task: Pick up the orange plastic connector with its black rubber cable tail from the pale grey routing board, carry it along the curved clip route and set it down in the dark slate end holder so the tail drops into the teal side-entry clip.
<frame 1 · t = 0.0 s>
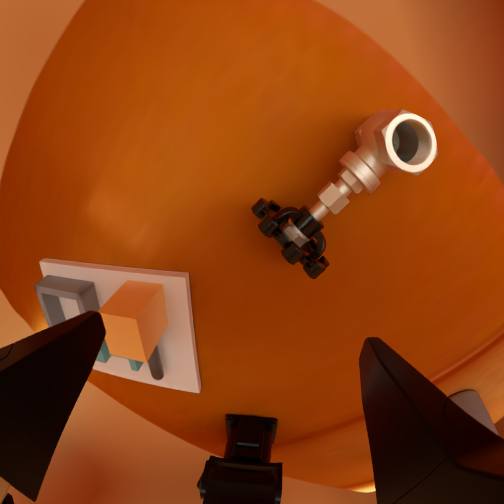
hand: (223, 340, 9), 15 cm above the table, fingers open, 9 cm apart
valve: (341, 173, 21), on the table
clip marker: (122, 350, 28), resting on routing board
routing board: (118, 326, 28), on the table
connector: (147, 302, 25), point 1 cm above the table, touching routing board
water bottle: (451, 408, 30), on the table
end holder: (77, 310, 27), resting on routing board
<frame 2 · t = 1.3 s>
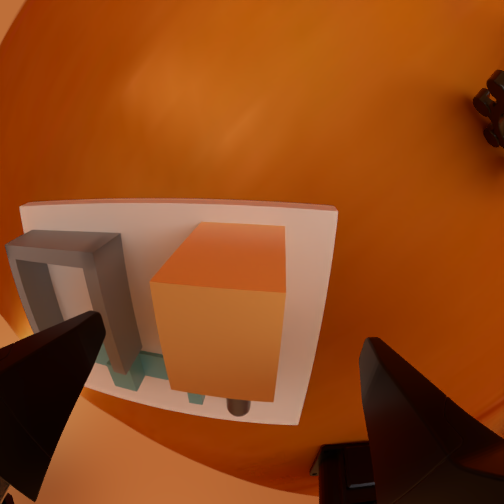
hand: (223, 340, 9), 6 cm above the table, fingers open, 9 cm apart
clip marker: (168, 366, 16), resting on routing board
routing board: (160, 324, 16), on the table
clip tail: (101, 351, 17), resting on routing board
connector: (241, 270, 13), point 1 cm above the table, touching routing board
end holder: (83, 295, 15), resting on routing board
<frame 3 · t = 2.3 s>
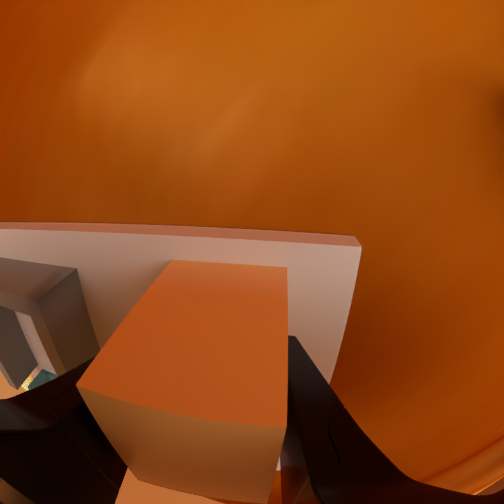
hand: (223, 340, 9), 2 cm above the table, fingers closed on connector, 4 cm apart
routing board: (136, 369, 13), on the table
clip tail: (76, 391, 13), resting on routing board
connector: (228, 321, 10), point 1 cm above the table, touching gripper, routing board
end holder: (48, 332, 11), resting on routing board
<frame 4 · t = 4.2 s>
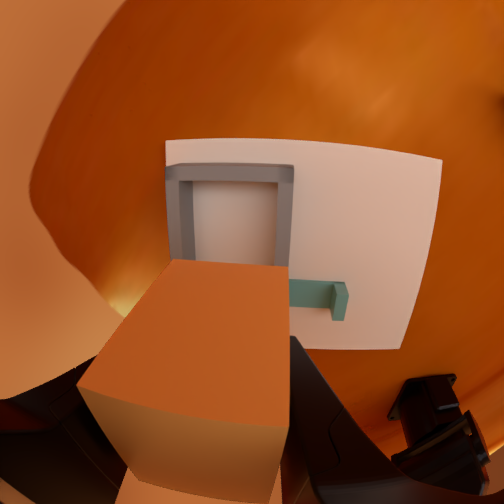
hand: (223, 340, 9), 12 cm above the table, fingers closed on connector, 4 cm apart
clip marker: (307, 292, 20), resting on routing board
routing board: (302, 253, 20), on the table
connector: (229, 321, 10), point 11 cm above the table, touching gripper
end holder: (234, 225, 18), resting on routing board
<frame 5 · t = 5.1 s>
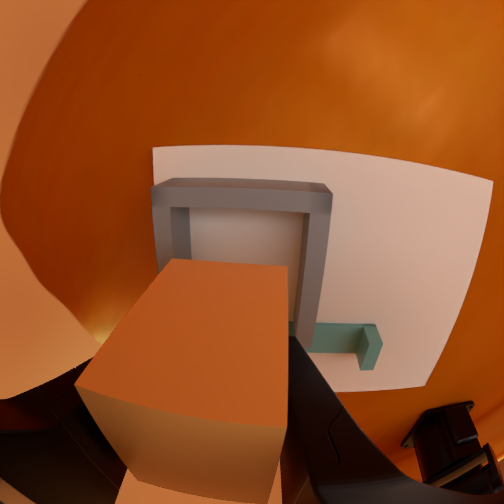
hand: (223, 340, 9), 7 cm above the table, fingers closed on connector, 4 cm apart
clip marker: (330, 336, 16), resting on routing board
routing board: (327, 290, 16), on the table
connector: (228, 321, 10), point 6 cm above the table, touching gripper
end holder: (244, 259, 14), resting on routing board
when the fingers open (4 cm above the table, at t = 6.0 s): connector drops 2 cm, resting on routing board.
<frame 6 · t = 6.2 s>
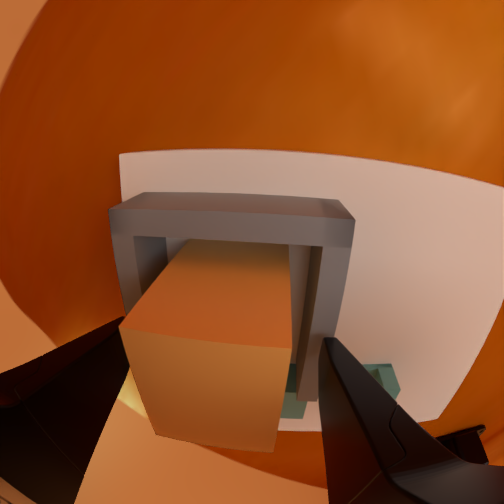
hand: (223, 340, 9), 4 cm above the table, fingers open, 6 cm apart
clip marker: (338, 378, 13), resting on routing board
routing board: (336, 326, 13), on the table
connector: (237, 294, 11), point 1 cm above the table, touching routing board
end holder: (235, 295, 11), resting on routing board
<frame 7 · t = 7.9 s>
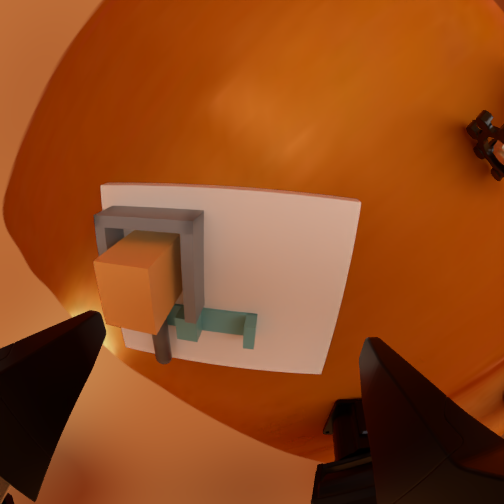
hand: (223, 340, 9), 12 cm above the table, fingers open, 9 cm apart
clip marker: (224, 320, 22), resting on routing board
routing board: (220, 285, 22), on the table
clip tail: (163, 311, 22), resting on routing board
connector: (158, 260, 20), point 1 cm above the table, touching routing board
end holder: (157, 260, 20), resting on routing board
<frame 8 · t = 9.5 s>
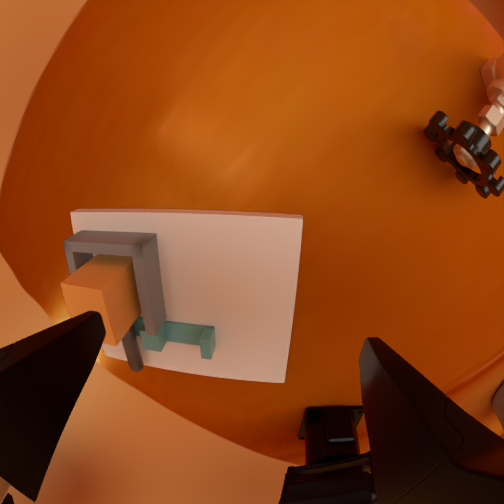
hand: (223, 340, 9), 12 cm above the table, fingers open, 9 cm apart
valve: (474, 107, 15), on the table
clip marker: (185, 332, 23), resting on routing board
routing board: (180, 300, 23), on the table
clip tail: (132, 324, 23), resting on routing board
connector: (123, 278, 21), point 1 cm above the table, touching routing board
end holder: (123, 278, 21), resting on routing board
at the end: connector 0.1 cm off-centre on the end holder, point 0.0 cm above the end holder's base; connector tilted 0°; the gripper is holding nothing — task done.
